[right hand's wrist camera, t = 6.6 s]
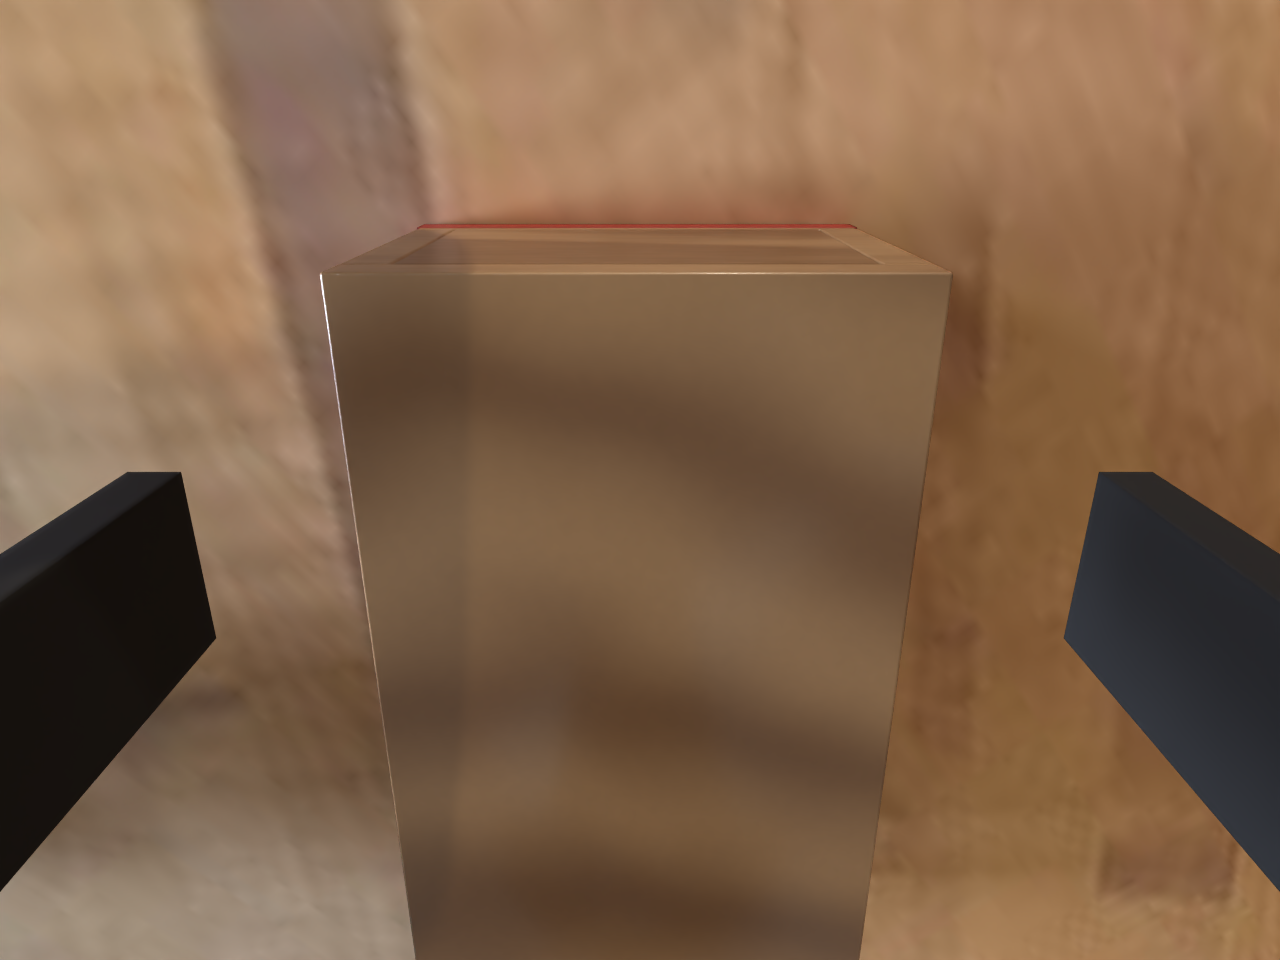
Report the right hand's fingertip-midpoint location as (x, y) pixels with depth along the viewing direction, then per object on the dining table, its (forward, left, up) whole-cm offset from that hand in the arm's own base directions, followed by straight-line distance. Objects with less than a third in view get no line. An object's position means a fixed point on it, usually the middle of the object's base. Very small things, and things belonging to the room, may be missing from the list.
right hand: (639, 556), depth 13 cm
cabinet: (+1, -7, -13) cm, 14 cm away
